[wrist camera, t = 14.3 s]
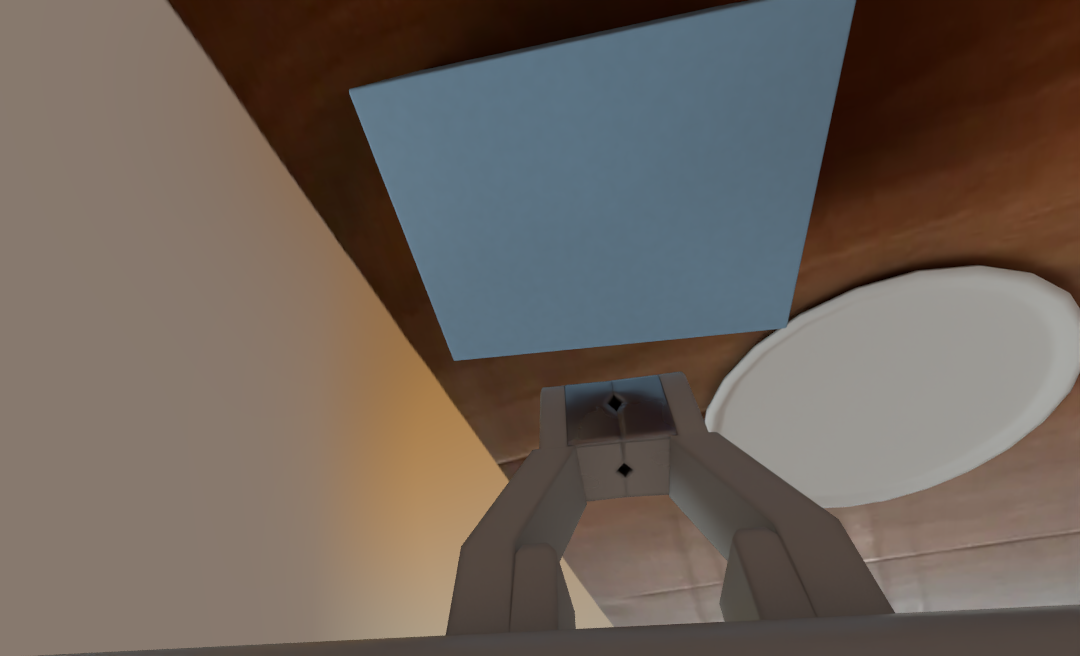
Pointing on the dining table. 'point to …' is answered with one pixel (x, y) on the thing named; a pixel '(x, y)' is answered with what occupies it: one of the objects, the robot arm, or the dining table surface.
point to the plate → (902, 382)
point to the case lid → (615, 178)
